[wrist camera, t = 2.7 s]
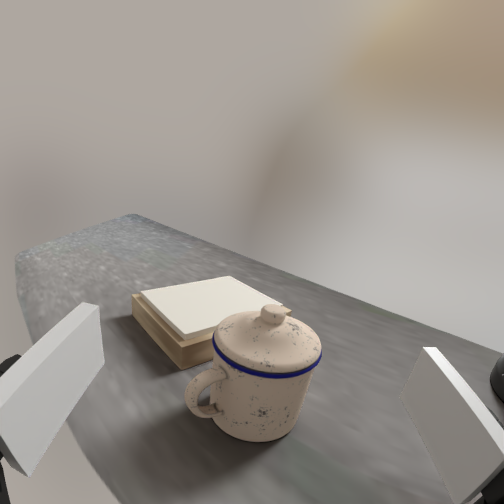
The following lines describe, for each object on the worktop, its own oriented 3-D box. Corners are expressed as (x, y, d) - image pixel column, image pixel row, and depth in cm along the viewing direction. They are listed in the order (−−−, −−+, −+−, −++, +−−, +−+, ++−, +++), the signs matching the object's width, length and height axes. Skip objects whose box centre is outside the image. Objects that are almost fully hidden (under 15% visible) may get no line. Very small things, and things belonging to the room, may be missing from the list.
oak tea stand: (227, 294, 52) (230, 273, 51) (287, 329, 43) (292, 305, 42) (132, 314, 40) (131, 289, 39) (181, 370, 31) (182, 341, 29)
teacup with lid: (259, 372, 32) (276, 279, 29) (317, 418, 26) (353, 319, 23) (163, 406, 25) (160, 299, 21) (216, 475, 18) (230, 369, 15)
